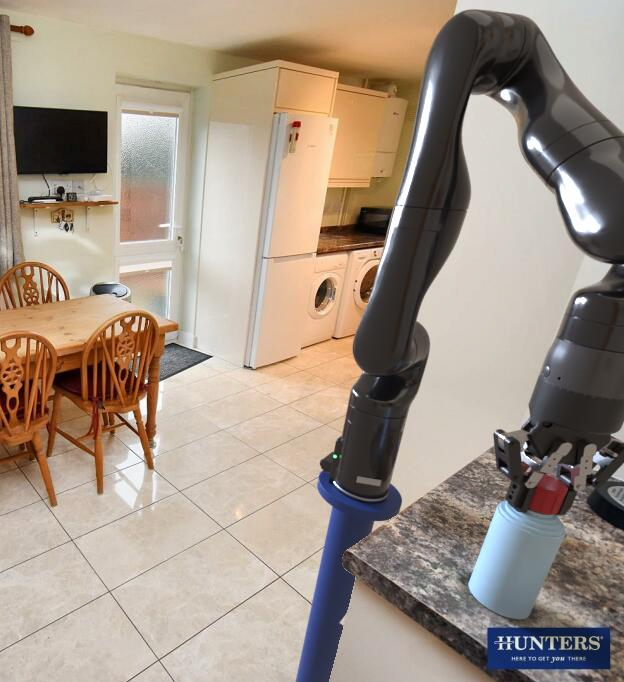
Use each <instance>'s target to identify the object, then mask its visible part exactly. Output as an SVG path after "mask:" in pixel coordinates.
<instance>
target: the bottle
mask: <svg viewBox="0 0 624 682" xmlns="http://www.w3.org/2000/svg"><path fill="white" fill-rule="evenodd" d="M566 535H567V532H566V527H565V525H564V523H563V522H562V521H561V519H560V518H559V516H558V515H556V514H554V515H548V514H543V513H539V512H536V511H534V510H531V509H529V508H528V510H527V512H526V513H522V512H517V511H516V510H515V509H514V508H513V507H511V506H510V505H509V504H508V502H507V500H506V499H505V500H503V501H502V502H500V503H498V504H497V506H496V508H495V511H494V513H493V517H492V520H491V522H490V524H489V526H488V530H487V533H486V536H485V538H484V541H483V543H482V546H481V549H480V551H479V554H478V556H477V560H476V563H475V565H474V567H473V570H472V573H471V576H470V579H469V581H468V589H469V592H470V594H472V595H473V597H474V598H475V599H476V600H477V602H479V603H480V604H481V605H482V606H484V607H486V608H487V609H488V610H489V611H492V612H493V613H495V614H497V615H499V616H502V617H505V618H508V619H513V620H524V619H527V618H528V617H529V616H530V615H531V613H532V611H533V609H534V606H535V603H536V602H537V599H538V597H539V595H540V592H541V590H542V588H543V586H544V584H545V582H546V579H547V577H548V575H549V572H550V570H551V568H552V565H553V563H554V561H555V559H556V557H557V554H558V552H559V550H560V547H561V546H562V543H563V541H564V538H565V537H566Z"/></svg>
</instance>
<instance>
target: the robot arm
mask: <svg viewBox="0 0 624 682" xmlns="http://www.w3.org/2000/svg"><path fill="white" fill-rule="evenodd" d="M471 96H486V97H489V98H490V99H491V100H494V101H495V102H496V103H498V104H500V105H501V106H503V108H505V109H506V110H507V111H508V112H509V113H510V114H511V115H512V117H513V118H514V120H515V123H516V128H517V143H518V148H519V152H520V154H521V155H522V158H523V159H524V161H525V163H526V164H527V165H528V167H529V168H530V169H531V171H532V172H533V173H534V174H535V175H536V177H537V178H538V179H539V180H540V181H541V182H542V184H543V185H544V186H545V187H546V188H547V189H548V190H549V192H550V193H551V194H553V195H554V197H555V202H556V206H557V210H558V212H559V214H560V217H561V221H562V223H563V226H564V229H565V232H566V234H567V236H568V238H569V239H570V242H571V243H572V244H573V245H574V246H575V247H576V249H578V251H580V252H581V253H583V254H584V255H585V256H587V257H588V258H590V259H592V260H593V261H596V262H599V263H602V264H606V265H611V266H610V267H609V269H608V270H607V272H606V274H605V275H604V276H603V277H602V279H600V280H599V281H597V282H595V283H592V284H589V285H586V286H583V287H581V288H579V289H577V290H576V291H575V292H573V294H572V295H571V297H570V298H569V300H568V303H567V305H566V308H565V310H564V313H563V316H562V319H561V321H560V324H559V327H558V330H557V332H556V335H555V338H554V340H553V341H552V343H551V345H550V347H549V348H548V350H547V352H546V355H545V357H544V359H543V362H542V365H541V367H540V371H539V373H538V376H537V379H536V382H535V384H534V387H533V390H532V393H531V396H530V398H529V401H528V405H527V406H528V410H529V418H528V419H527V420H526V421H525V423H523V425H521V428H520V429H518V430H513V431H508V432H507V431H505V430H504V429H501V428H499V429H495V431H493V433H492V434H493V435H492V436H493V437H492V438H493V445H494V456H495V457H494V458H495V465H496V467H495V468H496V470H498V471H499V472H500V473H502V475H504V476H505V477H506V478H507V479H508V480H510V483H509V486H508V488H507V491H506V493H505V500H507V502H508V504H509V505H510V506H511V507H513V508H514V509H515V510H516V511H517V512H522V513H526V512H527V510H528V508H529V505H530V503H531V500H532V498H533V495H534V493H535V490H536V489H535V488H534V487H535V486H536V485H537V484H538V482H539V481H540V480H541V478H542V477H543V476H544V475H545V474H546V475H550V474H551V473H552V472H553V470H555V468H556V472H555V473H556V474H555V478H556V479H558V480H560V481H561V482H563V483H564V484H565V485H566V486H567V487H568V491H567V493H566V495H565V498H564V500H563V503H562V505H561V507H560V510H559V512H558V513H557V514H556V515H557V516H566V514H567V512H568V511H570V510H571V508H572V506H573V504H574V502H575V499H576V497H577V495H578V492H583V490H585V489H586V487H593V489H599V488H601V487H603V486H604V485H605V484H606V483H607V482H608V481H609V480H610V478H611V477H612V476H614V474H615V473H616V472H617V471H618V470H619V469H620V468H621V467H622V466H623V465H624V441H622V440H621V439H619V438H616V437H614V436H613V434H617V433H619V432H620V431H621V430H622V427H623V424H624V132H623V131H622V130H621V129H620V128H619V127H618V126H617V125H616V124H615V123H613V121H611V120H610V119H609V118H608V117H607V116H606V115H605V114H604V113H602V111H600V110H599V108H597V106H595V105H594V104H593V103H592V102H591V100H589V98H587V97H586V95H585V94H584V93H583V92H582V91H581V90H580V88H579V87H578V86H577V85H576V84H575V83H574V81H573V80H572V78H571V77H570V75H569V73H568V72H567V71H566V69H565V68H564V67H563V65H562V64H561V62H560V60H559V58H558V57H557V55H556V54H555V52H554V50H553V49H552V46H551V45H550V43H549V41H548V39H547V37H546V36H545V35H544V33H543V31H542V30H541V28H540V27H539V26H538V24H537V23H536V21H534V20H533V19H531V18H530V17H528V16H527V15H523V14H518V13H511V12H503V11H496V10H488V9H477V8H476V9H475V8H472V9H471V8H470V9H465V10H462V11H459V12H457V13H456V14H454V15H453V16H452V17H450V18H449V19H448V20H447V21H446V22H445V23H444V25H442V27H441V28H440V30H439V31H438V33H436V36H435V37H434V40H433V41H432V43H431V45H430V48H429V50H428V53H427V56H426V59H425V63H424V68H423V72H422V76H421V81H420V88H419V93H418V99H417V104H416V105H417V106H416V111H415V118H414V122H413V123H414V124H413V129H412V135H411V139H410V144H409V147H408V148H409V149H408V152H407V155H406V156H407V157H406V161H405V164H404V169H403V173H402V177H401V180H400V184H399V187H398V191H397V195H396V197H395V201H394V203H393V208H392V212H391V215H390V218H389V223H388V227H387V230H386V236H385V240H384V243H383V247H382V251H381V255H380V258H379V262H378V266H377V269H376V270H377V271H376V274H375V278H374V282H373V283H374V284H373V285H372V290H371V293H370V295H369V298H368V301H367V304H366V305H365V309H364V311H363V314H362V316H361V319H360V321H359V324H358V325H357V328H356V331H355V334H354V337H353V341H352V349H351V351H352V357H353V359H354V361H355V364H356V366H358V368H359V369H360V370H361V371H362V372H361V374H360V376H359V377H358V379H357V380H356V381H355V382H354V384H353V385H351V389H350V391H349V397H348V401H347V406H346V412H345V416H344V421H343V425H342V429H341V435H340V436H339V437H337V438H336V439H335V443H334V449H333V451H331V452H330V453H329V454H327V455H326V456H325V457H323V458H321V459H320V461H319V466H320V469H321V470H324V472H326V471H327V472H329V478H328V483H330V484H332V485H333V486H334V487H335V488H336V489H337V490H338V491H339V492H340V493H342V494H343V495H345V496H347V497H349V498H351V499H353V500H356V501H359V502H364V503H372V504H374V503H381V502H384V501H385V500H386V499H387V497H388V493H389V488H390V483H391V482H392V478H393V474H394V472H395V471H394V470H395V467H396V463H397V458H398V456H399V455H398V454H399V451H400V446H401V443H402V439H403V435H404V431H405V426H406V423H407V420H408V415H409V412H410V408H411V406H412V404H413V402H414V400H415V399H416V397H417V395H418V393H419V391H420V388H421V384H422V380H423V377H424V374H425V371H426V367H427V364H428V360H429V357H430V350H431V339H430V338H431V337H430V335H429V332H428V331H427V329H426V327H425V326H424V325H423V324H422V323H421V322H419V321H418V316H419V313H420V310H421V307H422V303H423V301H424V298H425V296H426V294H427V293H428V291H429V289H430V287H431V286H432V285H433V283H434V282H435V279H436V278H437V277H438V275H439V273H440V272H441V270H442V269H443V267H444V266H445V264H446V263H447V261H448V259H449V258H450V256H451V254H452V252H453V251H454V248H455V247H456V244H457V242H458V239H459V237H460V234H461V232H462V229H463V225H464V223H465V220H466V217H467V213H468V210H469V207H470V204H471V199H472V183H471V177H470V172H469V168H468V163H467V159H466V154H465V150H464V145H463V130H464V129H463V127H464V121H465V118H466V113H467V109H468V105H469V100H470V97H471ZM538 459H539V460H538ZM597 466H599V469H598V470H597V471H596V472H595V473H593V472H592V471H593V470H594V469H595V468H596V467H597ZM528 469H530V470H529V471H528ZM526 472H529V473H528V474H527V473H526Z"/></svg>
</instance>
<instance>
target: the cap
mask: <svg viewBox="0 0 624 682" xmlns="http://www.w3.org/2000/svg"><path fill="white" fill-rule="evenodd" d="M529 472H530V471H526V472H525V473H527V474H528V473H529ZM534 488H535V489H536V490H535V493H534V495H533V498H532V500H531V503H530V505H529V509H531V510H534V511H536V512H539V513H543V514H548V515H554V514H557V513H558V512H559V510H560V507H561V505H562V503H563V500H564V498H565V495H566V493H567V491H568V487H567V486H566V485H565V484H564V483H563V482H561V481H560V480H558V478H557V477H554V476H551V475H550V474H545V475H544V476H543V477H542V478H541V480H540V481H539V482H538V484H537V485H536V486H535V487H534Z"/></svg>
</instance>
